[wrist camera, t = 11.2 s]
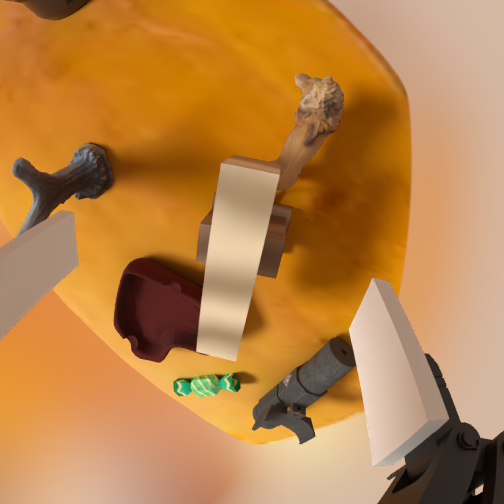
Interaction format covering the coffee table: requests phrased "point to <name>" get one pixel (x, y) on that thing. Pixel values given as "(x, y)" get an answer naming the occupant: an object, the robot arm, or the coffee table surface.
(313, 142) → the lion figurine
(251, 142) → the coffee table surface
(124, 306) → the ashtray
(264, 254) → the pedestal
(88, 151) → the antler
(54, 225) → the robot arm
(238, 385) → the candy
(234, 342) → the block
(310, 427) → the laser sight
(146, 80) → the coffee table surface
